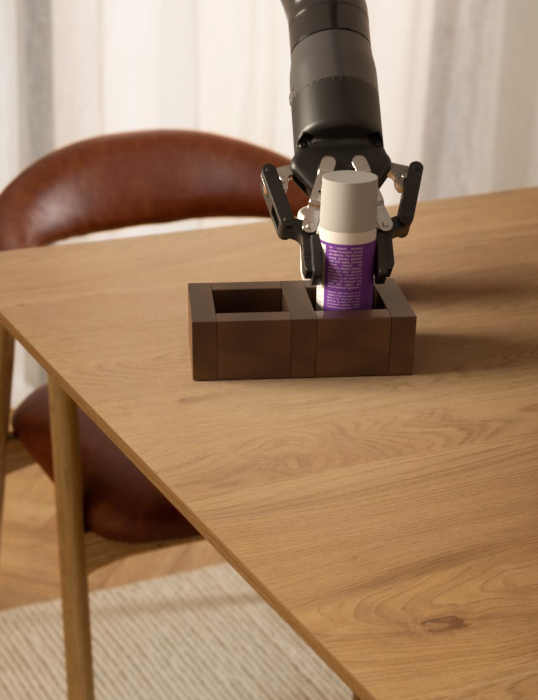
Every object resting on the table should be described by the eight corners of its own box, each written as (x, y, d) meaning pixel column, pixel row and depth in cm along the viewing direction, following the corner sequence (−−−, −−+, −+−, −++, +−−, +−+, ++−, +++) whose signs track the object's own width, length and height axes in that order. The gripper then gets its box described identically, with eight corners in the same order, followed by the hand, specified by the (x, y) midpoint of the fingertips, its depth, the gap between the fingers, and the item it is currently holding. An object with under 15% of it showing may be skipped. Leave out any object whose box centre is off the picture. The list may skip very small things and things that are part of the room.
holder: (390, 332, 106) (393, 277, 103) (412, 374, 97) (417, 316, 94) (188, 337, 105) (187, 283, 102) (192, 380, 96) (191, 322, 94)
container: (380, 353, 101) (391, 176, 94) (345, 367, 98) (354, 186, 91) (338, 339, 104) (346, 167, 97) (302, 353, 101) (308, 176, 94)
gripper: (253, 74, 97) (265, 260, 92) (426, 71, 98) (446, 256, 93) (248, 127, 104) (258, 303, 99) (409, 124, 105) (427, 299, 100)
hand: (349, 279), depth 96 cm, fingers closed on container, 4 cm apart
